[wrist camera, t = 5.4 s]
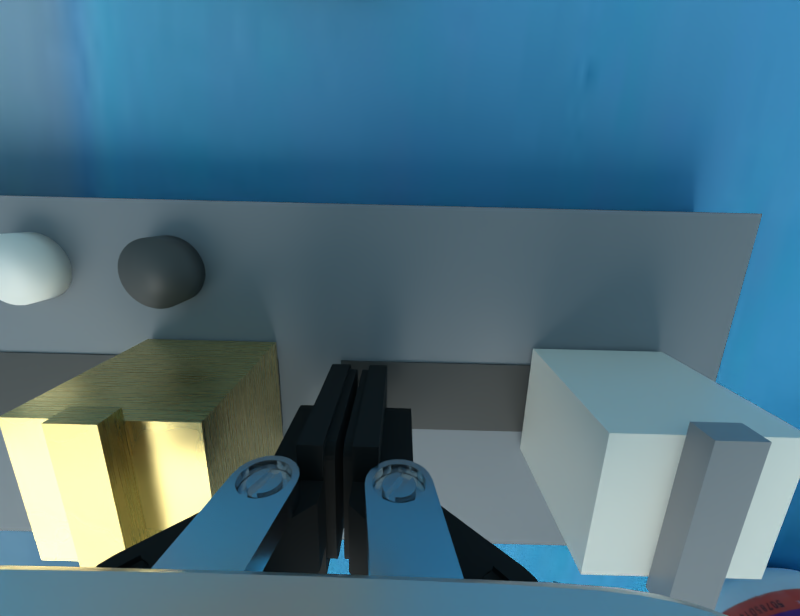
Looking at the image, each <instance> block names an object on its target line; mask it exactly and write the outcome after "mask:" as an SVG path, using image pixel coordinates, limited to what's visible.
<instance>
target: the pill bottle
mask: <svg viewBox="0 0 800 616" xmlns="http://www.w3.org/2000/svg"><path fill="white" fill-rule="evenodd" d="M714 611H717V612H720V613H723V614H725V615H728V616H800V571H796V570H791V569H784V568H766V569H765V571H764V574H763V576H762V579H734V578H725V581H724V584H723V586H722V589H721V592H720V595H719V598H718V601H717V604H716V607H715V610H714Z"/></svg>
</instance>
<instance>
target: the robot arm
mask: <svg viewBox="0 0 800 616" xmlns="http://www.w3.org/2000/svg"><path fill="white" fill-rule="evenodd" d="M343 530H344V556H345V559H349V572H350V574H351V575H347V574H327V571H328V566H329V562H330V558H335V559H337V558H338V556H339V552H340V546H341V541H342V536H343ZM0 616H728V615H725V614H723V613H720V612H717V611H714V610H712V609H709V608H706V607H704V606H701V605H698V604H695V603H691V602H687V601H683V600H679V599H675V598H671V597H667V596H663V595H659V594H654V593H648V592H642V591H635V590H629V589H623V588H614V587H602V586H589V585H577V584H564V583H558V582H555V581H553V583H551V582H538V581H537V579H536V578H535V577H534V576H533V575H532V574H531V573H530V572H528V571H527V570H526V569H525V568H524V567H523V566H521V565H520V564H519V563H517V562H516V561H515V560H513V559H512V558H511V557H509V556H508V555H507V554H505V553H504V552H503V551H501V550H500V549H498V548H497V547H496V546H494V545H493V544H492V543H490V542H489V541H488V540H486V539H485V538H484V537H482V536H481V535H480V534H478V533H477V532H476V531H474V530H473V529H472V528H470V527H469V526H468V525H466V524H465V523H464V522H462V521H461V520H460V519H458V518H457V517H456V516H454V515H453V514H452V513H450V512H449V511H448V510H446V509H445V508H443V507H442V506H441V504H440V501H439V498H438V495H437V492H436V488H435V485H434V482H433V479H432V477H431V475H430V474H429V472H428V471H427V470H426V469H425V468H424V467H423V466H421V465H419V464H417V463H415V462H413V443H412V416H411V408H387V366H386V365H370V366H369V370H362V373H361V377H360V381H359V385H358V371H357V369H351V365H350V364H332V366H331V368H330V370H329V372H328V375H327V377H326V379H325V381H324V384H323V386H322V388H321V390H320V393H319V395H318V397H317V399H316V401H315V404H314V405H301V406H300V407H299V409H298V411H297V412H296V414H295V416H294V418H293V420H292V422H291V424H290V426H289V428H288V430H287V432H286V434H285V436H284V438H283V440H282V442H281V443H280V445H279V447H278V449H277V451H276V453H275V455H274V456H264V457H259V458H256V459H254V460H251V461H249V462H247V463H245V464H243V465H242V466H240V467H239V468H238V469H237V470H236V471H235V472H233V473H232V475H231V476H230V477H229V478H228V479H227V480H226V482H225V483H224V484H223V485H222V486H221V487H220V489H219V490H218V491H217V492H216V493H215V494H214V496H213V497H212V498H211V499H210V500H209V501H208V503H207V504H206V505H205V506H204V507H203V508H202V510H201V511H200V512H198V513H196V514H194V515H192V516H190V517H189V518H187V519H185V520H183V521H181V522H179V523H177V524H175V525H173V526H171V527H169V528H167V529H165V530H163V531H161V532H159V533H157V534H155V535H153V536H151V537H149V538H147V539H145V540H143V541H141V542H139V543H137V544H135V545H133V546H131V547H129V548H127V549H125V550H123V551H121V552H119V553H117V554H115V555H113V556H111V557H110V558H108V559H106V560H105V561H103V562H102V563H100V564H98V565H97V566H96V567H56V566H0Z"/></svg>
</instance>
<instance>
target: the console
mask: <svg viewBox="0 0 800 616" xmlns="http://www.w3.org/2000/svg"><path fill="white" fill-rule="evenodd" d="M761 217H762V214H749V213H707V212H666V211H624V210H582V209H540V208H499V207H457V206H415V205H374V204H332V203H290V202H249V201H207V200H165V199H124V198H82V197H40V196H0V416H1V415H3V414H5V413H7V412H9V411H11V410H13V409H15V408H17V407H19V406H21V405H22V404H24V403H26V402H28V401H30V400H32V399H34V398H36V397H38V396H40V395H42V394H44V393H45V392H47V391H49V390H51V389H53V388H55V387H57V386H59V385H61V384H63V383H65V382H66V381H68V380H70V379H72V378H74V377H76V376H78V375H80V374H82V373H84V372H86V371H88V370H89V369H91V368H93V367H95V366H97V365H99V364H101V363H103V362H105V361H107V360H109V359H111V358H112V357H114V356H116V355H118V354H120V353H122V352H124V351H126V350H128V349H130V348H132V347H134V346H135V345H137V344H139V343H141V342H143V341H145V340H147V339H168V340H208V341H248V342H276V349H277V362H278V376H279V390H280V404H281V418H282V432H283V438H284V436H285V434H286V432H287V430H288V428H289V426H290V424H291V422H292V420H293V418H294V416H295V414H296V412H297V411H298V409H299V407H300V406H301V405H314V404H315V401H316V399H317V397H318V395H319V393H320V390H321V388H322V386H323V384H324V381H325V379H326V377H327V375H328V372H329V370H330V368H331V366H332V364H350V365H351V369H357V371H358V385H359V381H360V377H361V373H362V370H369V366H370V365H386V366H387V408H411V416H412V443H413V462H415V463H417V464H419V465H421V466H423V467H424V468H425V469H426V470H427V471H428V472H429V474H430V475H431V477H432V479H433V482H434V485H435V488H436V492H437V495H438V498H439V501H440V504H441V506H442V507H443V508H445V509H446V510H448V511H449V512H450V513H452V514H453V515H454V516H456V517H457V518H458V519H460V520H461V521H462V522H464V523H465V524H466V525H468V526H469V527H470V528H472V529H473V530H474V531H476V532H477V533H478V534H480V535H481V536H482V537H484V538H485V539H486V540H488V541H489V542H490V543H493V544H531V545H566V543H565V541H564V538H563V536H562V534H561V532H560V530H559V528H558V526H557V524H556V522H555V520H554V518H553V516H552V513H551V511H550V509H549V507H548V505H547V503H546V501H545V499H544V497H543V495H542V493H541V491H540V489H539V486H538V484H537V482H536V480H535V478H534V476H533V474H532V472H531V470H530V468H529V466H528V464H527V461H526V459H525V457H524V455H523V453H522V451H521V449H520V445H521V437H522V430H523V422H524V414H525V406H526V399H527V391H528V383H529V375H530V368H531V360H532V352H533V349H569V350H609V351H649V352H663V353H665V354H666V355H668V356H670V357H672V358H674V359H675V360H677V361H679V362H681V363H682V364H684V365H686V366H688V367H689V368H691V369H693V370H695V371H697V372H698V373H700V374H702V375H704V376H705V377H707V378H709V379H711V380H712V381H714V382H715V381H716V377H717V374H718V370H719V367H720V363H721V360H722V356H723V352H724V349H725V345H726V342H727V338H728V334H729V331H730V327H731V324H732V320H733V317H734V313H735V309H736V306H737V302H738V299H739V295H740V292H741V288H742V284H743V281H744V277H745V274H746V270H747V267H748V263H749V259H750V256H751V252H752V249H753V245H754V242H755V238H756V234H757V231H758V227H759V224H760V220H761ZM0 531H32V528H31V524H30V521H29V518H28V515H27V511H26V508H25V505H24V502H23V498H22V495H21V492H20V489H19V485H18V482H17V479H16V476H15V472H14V469H13V466H12V463H11V459H10V456H9V453H8V450H7V446H6V443H5V440H4V437H3V433H2V430H1V427H0ZM342 540H344V530H343V536H342Z"/></svg>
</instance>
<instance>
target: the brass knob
mask: <svg viewBox="0 0 800 616" xmlns="http://www.w3.org/2000/svg"><path fill="white" fill-rule="evenodd" d="M0 427H1V430H2V433H3V437H4V440H5V443H6V446H7V450H8V453H9V456H10V459H11V463H12V466H13V469H14V472H15V476H16V479H17V482H18V485H19V489H20V492H21V495H22V498H23V502H24V505H25V508H26V511H27V515H28V518H29V521H30V524H31V528H32V531H33V534H34V537H35V541H36V544H37V547H38V550H39V554H40V557H41V560H56V561H79V564H80V567H96V566H97V565H98V564H100V563H102V562H103V561H105V560H106V559H108V558H110V557H111V556H113V555H115V554H117V553H119V552H121V551H123V550H125V549H127V548H129V547H131V546H133V545H135V544H137V543H139V542H141V541H143V540H145V539H147V538H149V537H151V536H153V535H155V534H157V533H159V532H161V531H163V530H165V529H167V528H169V527H171V526H173V525H175V524H177V523H179V522H181V521H183V520H185V519H187V518H189V517H190V516H192V515H194V514H196V513H198V512H200V511H201V510H202V508H203V507H204V506H205V505H206V504H207V503H208V501H209V500H210V499H211V498H212V497H213V496H214V494H215V493H216V492H217V491H218V490H219V489H220V487H221V486H222V485H223V484H224V483H225V482H226V480H227V479H228V478H229V477H230V476H231V475H232V473H233V472H235V471H236V470H237V469H238V468H239V467H240V466H242V465H243V464H245V463H247V462H249V461H251V460H254V459H256V458H259V457H264V456H274V455H275V453H276V451H277V449H278V447H279V445H280V443H281V442H282V440H283V432H282V418H281V404H280V390H279V376H278V362H277V349H276V342H248V341H208V340H168V339H147V340H145V341H143V342H141V343H139V344H137V345H135V346H134V347H132V348H130V349H128V350H126V351H124V352H122V353H120V354H118V355H116V356H114V357H112V358H111V359H109V360H107V361H105V362H103V363H101V364H99V365H97V366H95V367H93V368H91V369H89V370H88V371H86V372H84V373H82V374H80V375H78V376H76V377H74V378H72V379H70V380H68V381H66V382H65V383H63V384H61V385H59V386H57V387H55V388H53V389H51V390H49V391H47V392H45V393H44V394H42V395H40V396H38V397H36V398H34V399H32V400H30V401H28V402H26V403H24V404H22V405H21V406H19V407H17V408H15V409H13V410H11V411H9V412H7V413H5V414H3V415H1V416H0Z"/></svg>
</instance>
